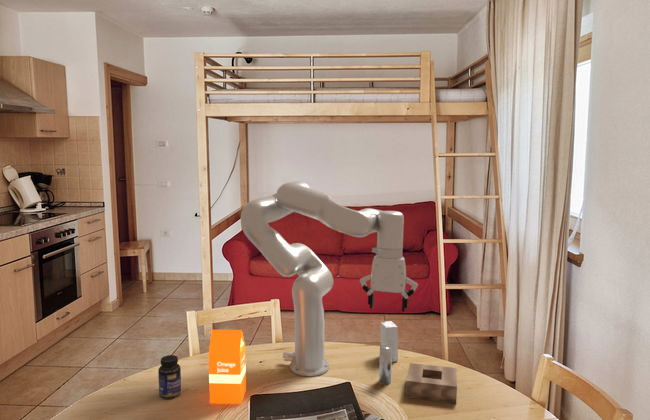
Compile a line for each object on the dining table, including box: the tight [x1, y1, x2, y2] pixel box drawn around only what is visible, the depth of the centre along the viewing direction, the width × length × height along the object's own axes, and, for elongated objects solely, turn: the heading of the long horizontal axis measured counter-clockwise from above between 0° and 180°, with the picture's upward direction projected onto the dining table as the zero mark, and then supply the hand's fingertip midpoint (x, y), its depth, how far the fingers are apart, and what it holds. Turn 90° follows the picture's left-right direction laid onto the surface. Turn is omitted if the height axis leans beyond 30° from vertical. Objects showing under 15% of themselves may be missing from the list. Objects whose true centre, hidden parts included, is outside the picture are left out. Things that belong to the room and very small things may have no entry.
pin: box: [378, 344, 393, 385], centre depth 150 cm, size 4×4×11 cm
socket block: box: [405, 362, 458, 405], centre depth 145 cm, size 14×12×5 cm
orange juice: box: [208, 329, 247, 405], centre depth 139 cm, size 8×9×20 cm
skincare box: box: [380, 320, 399, 363], centre depth 166 cm, size 6×4×12 cm
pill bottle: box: [157, 354, 182, 400], centre depth 141 cm, size 6×6×11 cm
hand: (387, 308), depth 147 cm, fingers open, 9 cm apart
